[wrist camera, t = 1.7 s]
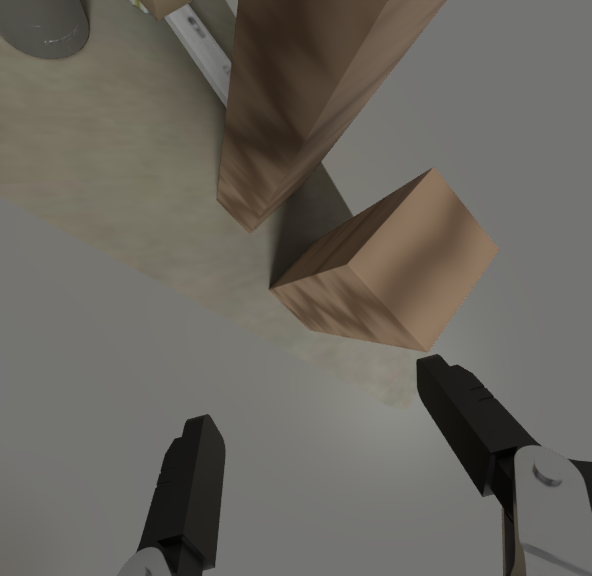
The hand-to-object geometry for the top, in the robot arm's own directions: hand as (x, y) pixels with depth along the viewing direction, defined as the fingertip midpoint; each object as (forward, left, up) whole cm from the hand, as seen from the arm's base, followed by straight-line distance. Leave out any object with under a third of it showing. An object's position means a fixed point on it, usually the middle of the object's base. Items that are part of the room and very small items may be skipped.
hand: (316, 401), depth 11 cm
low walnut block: (+3, +12, -27) cm, 30 cm away
